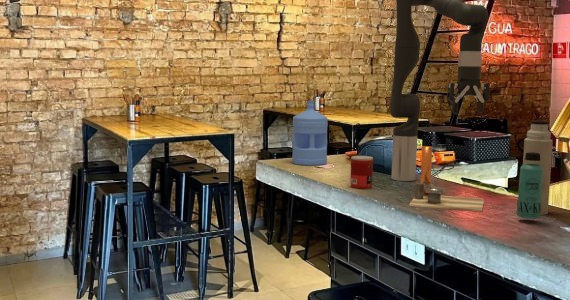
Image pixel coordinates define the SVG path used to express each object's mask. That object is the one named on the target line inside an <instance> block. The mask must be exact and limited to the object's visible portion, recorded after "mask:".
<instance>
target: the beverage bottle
mask: <svg viewBox="0 0 570 300" xmlns="http://www.w3.org/2000/svg"><path fill="white" fill-rule="evenodd" d="M525 160H529V161H540V153H535V152H527V153H526V155H525ZM543 170H544V169H543V168H542V167H541V166H540V165H539V164H524V165H523V164H521V166H520V171H519V182H518V190H517V202H516V216H517V217H519V218H522V219H528V220H537V219H540V217H541V215H540V209H541V204H542V202H541V197H542V186H543V185H542V181H543Z"/></svg>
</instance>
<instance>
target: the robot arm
mask: <svg viewBox="0 0 570 300" xmlns="http://www.w3.org/2000/svg"><path fill="white" fill-rule="evenodd" d="M395 1H396V2H395V5H396V28H395V29H396V31H395V32H396V33H395V34H396V35H395V43H394V59H393V61H394V62H393V76H392V77H393V78H392V79H393V80H392V85H391V92H390V93H391V94H390V100H389V101H390V102H389V113H390V115H391V117H392V118H395V119H407V120H406V121H405V122H404V123H402V124H400V125H398V126H396V127H394V128H393V130H392V152H391V153H392V154H391V155H392V156H391V157H392V158H391V162H392V163H391V180H393V181H398V182H414V181H416V180H417V179H416V177H417V174H416V173H417V156H418V155H417V151H418V132H419V121H420V120H419V119H420V111H421V110H420V109H421V101H420V97H419V95H418V94H415V93H403V88H404V85H405V82H406V81H407V79H408V78H409V76H410V75H411V73H412V72H413V70H414V69H415V67H416V66H417V65H418V62H419V61H420V52H421V40H420V36H419V34H418V32H417V30H416V28H415V26H414V23H413V20H412V19H413V18H412V7H419V6H423V7H425V6H426V7H429V8H430V7H431V8H433V9H434V10H435V11H436V13H438V14H440V15H441V16H444V17H446V18H449V19H451V20H452V21H453V22H455V23H457V24H458V25H460V26H465V27H466V26H467V27H469V30H468V32H466V33H463V34H461V36H460V38H459V39H460V40H459V53H458V61H457V82H456V83H455V82H448V84H447V94H446V101H448V102H449V101H450V102H451V111H452V113H453V114H454V115H458V114H459V101H460V99H462V98H463V97H464V96H466V97H467V96H469V97H472V96H473V97H474V98H475V99H476V100H477V102H476V114H478V115H479V114H480V115H482V113H483V111H484V103H485V102H487V101H488V102H489V100H490V83H489V82H483V83H481V79H482V78H481V77H482V64H483V63H482V60H483V59H482V45H483V43H482V42H483V41H482V40H483V37H484V34H485V31H486V29H487V24H488V22H489V13H488V9H487V8H486V6H485V5H481V4H472V3H465V1H464V0H395ZM456 89H457V91H456V93H454V92H455V90H456ZM480 89H481V90H482V93H481V92H480V91H479V90H480Z"/></svg>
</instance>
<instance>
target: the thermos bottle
mask: <svg viewBox="0 0 570 300" xmlns="http://www.w3.org/2000/svg"><path fill="white" fill-rule="evenodd" d="M551 136H552V132H551V131H549V121H546V120H531V121H530V129H529V130H527V133H526V138H524V139H523V141H524V142H523V157H522V165H524V164H539V165H540V166H541V167H542V168H543V169H544V170H543V181H542V185H543V186H542V197H541V202H542V204H541V209H540V216H543V215H547V214H548V213H549V201H550V189H551V188H550V185H551V172H552V170H551V169H552V158H553V157H552V156H553V139H551ZM527 152H535V153H540V161H529V160H525V155H526V153H527Z"/></svg>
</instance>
